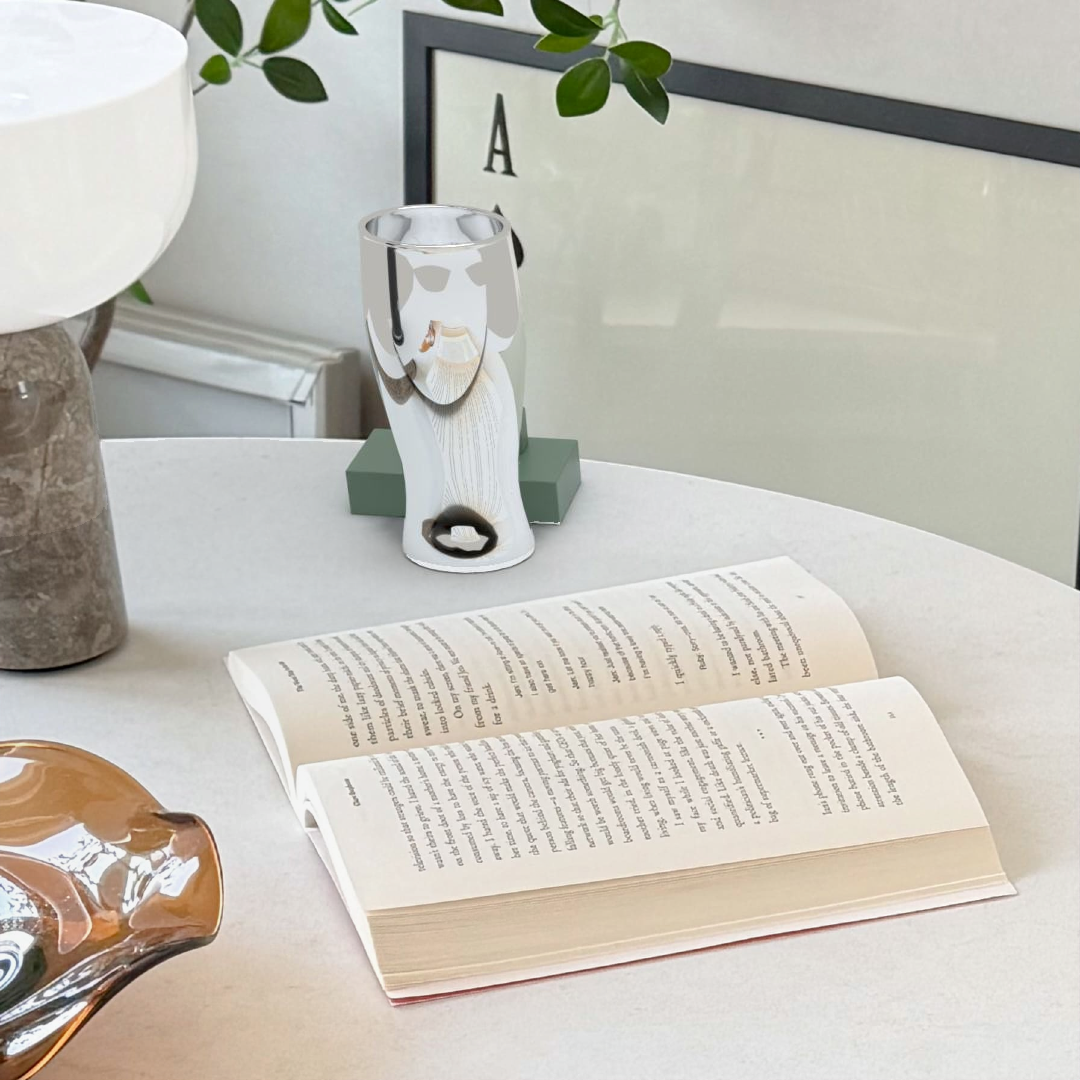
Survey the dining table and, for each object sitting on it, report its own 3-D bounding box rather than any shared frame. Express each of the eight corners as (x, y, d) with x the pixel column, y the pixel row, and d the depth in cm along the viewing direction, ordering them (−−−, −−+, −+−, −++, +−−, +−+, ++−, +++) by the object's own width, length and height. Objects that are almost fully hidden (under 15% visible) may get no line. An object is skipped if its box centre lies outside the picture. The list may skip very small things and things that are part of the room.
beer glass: (409, 584, 128) (368, 251, 119) (380, 530, 133) (339, 206, 124) (560, 569, 131) (531, 242, 122) (526, 516, 136) (496, 198, 127)
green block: (350, 514, 134) (339, 433, 132) (384, 463, 140) (374, 384, 138) (560, 526, 135) (553, 445, 133) (585, 474, 141) (578, 396, 138)
